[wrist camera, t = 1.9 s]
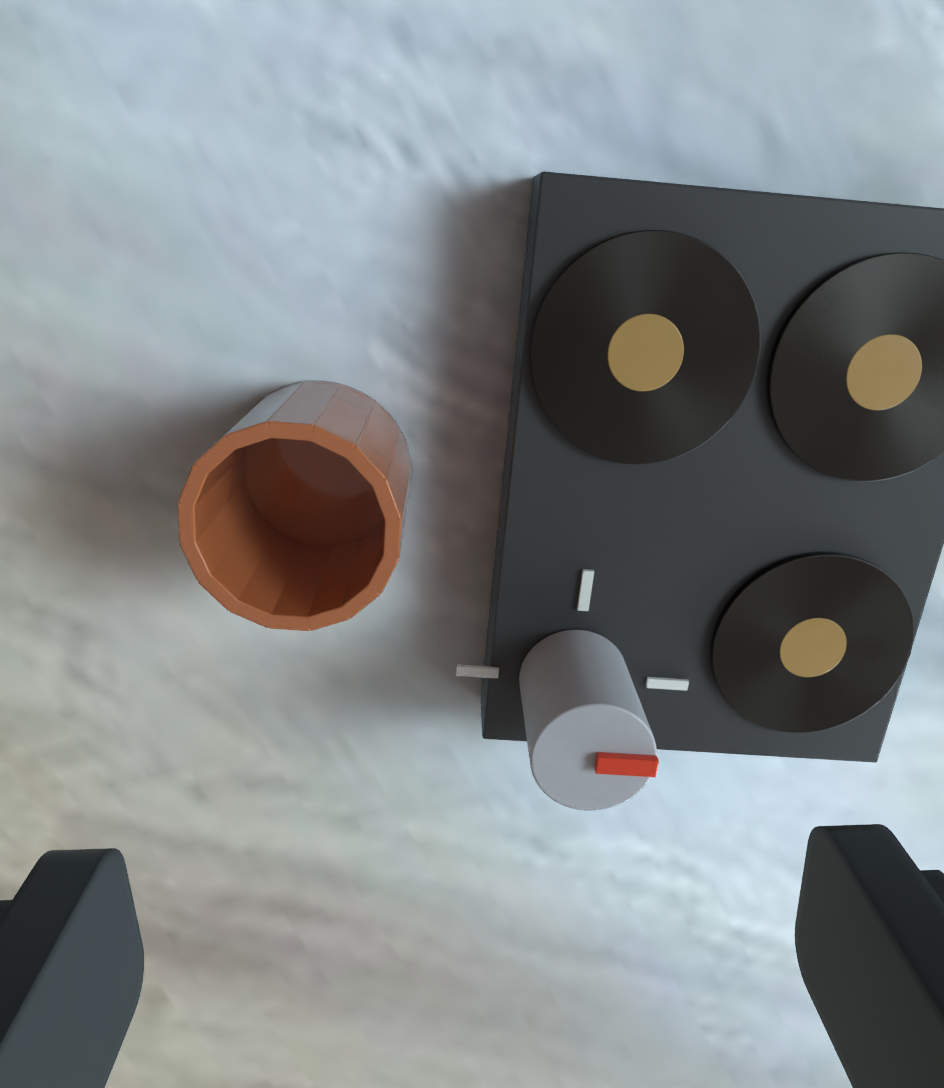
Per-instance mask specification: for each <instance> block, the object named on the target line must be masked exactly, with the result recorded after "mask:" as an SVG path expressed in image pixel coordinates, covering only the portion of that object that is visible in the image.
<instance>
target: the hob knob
mask: <svg viewBox="0 0 944 1088" xmlns="http://www.w3.org/2000/svg"><path fill="white" fill-rule="evenodd" d="M519 684H520V692H521V699H522V707H523V714H524V721H525V729H526V736H527V743H528V751H529V758H530V765H531V770H532V774H533V777H534V779H535V781H536V783H537V784H538V786H539V787H540V788H541V790H542V791H543V792H544V793H545V794H546V795H547V796H549V797H550V798H551V799H553V800H554V801H556V802H558V803H560V804H562V805H564V806H567V807H570V808H574V809H578V810H601V809H606V808H610V807H613V806H616V805H619V804H621V803H623V802H625V801H627V800H628V799H630V798H632V797H633V796H634V795H636V794H637V793H638V792H639V791H640V790H641V789H642V788H643V787H644V786H645V784H646V783H647V782H648V780H649V778H650V777H656V773H657V768H658V763H659V761H658V758H657V749H656V743H655V739H654V737H653V734H652V731H651V729H650V726H649V723H648V721H647V718H646V716H645V713H644V710H643V708H642V705H641V703H640V700H639V697H638V695H637V692H636V690H635V687H634V684H633V682H632V679H631V677H630V674H629V671H628V669H627V666H626V663H625V661H624V658H623V656H622V654H621V653H620V651H619V650H618V649H617V647H616V646H615V645H614V644H613V643H612V642H610V641H609V640H608V639H606V638H605V637H603V636H601V635H599V634H596V633H593V632H589V631H584V630H567V631H562V632H558V633H555V634H552V635H550V636H548V637H546V638H544V639H543V640H541V641H540V642H539V643H537V644H536V645H535V646H534V647H533V648H532V649H531V650H530V651H529V653H528V654H527V656H526V657H525V659H524V661H523V663H522V666H521V669H520V674H519Z"/></svg>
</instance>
